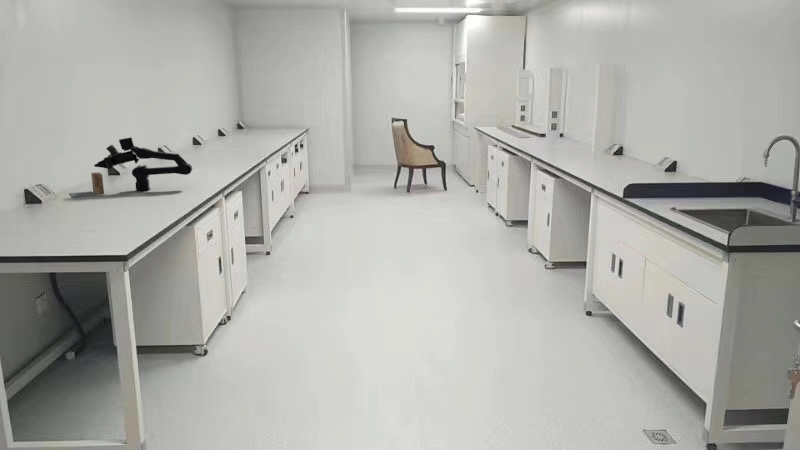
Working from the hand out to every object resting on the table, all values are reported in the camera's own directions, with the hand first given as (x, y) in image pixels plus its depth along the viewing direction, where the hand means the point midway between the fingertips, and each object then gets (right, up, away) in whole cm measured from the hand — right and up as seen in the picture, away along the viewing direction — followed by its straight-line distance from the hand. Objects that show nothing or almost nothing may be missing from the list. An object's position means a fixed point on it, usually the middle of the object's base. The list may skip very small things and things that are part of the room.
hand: (96, 164), depth 347 cm
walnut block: (+3, -16, -3) cm, 17 cm away
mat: (-4, -17, -8) cm, 19 cm away
